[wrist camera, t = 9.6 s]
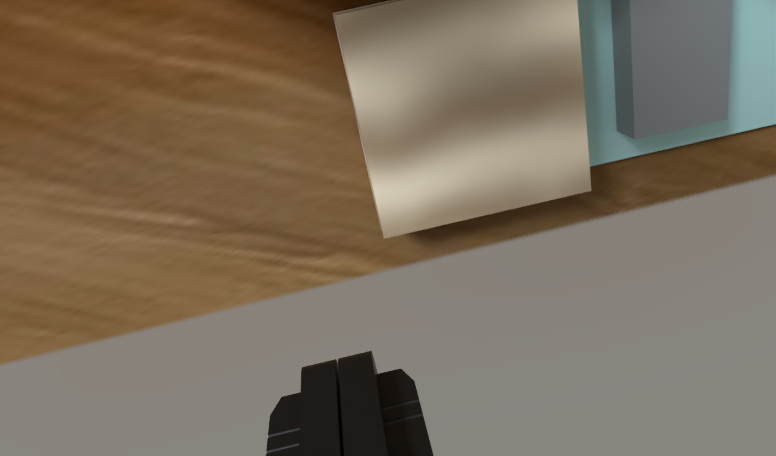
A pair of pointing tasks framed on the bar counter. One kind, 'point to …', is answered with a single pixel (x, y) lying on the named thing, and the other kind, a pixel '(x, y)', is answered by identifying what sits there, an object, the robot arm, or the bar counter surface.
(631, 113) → the grey rectangular block
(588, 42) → the mat
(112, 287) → the bar counter surface
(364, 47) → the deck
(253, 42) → the bar counter surface
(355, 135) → the bar counter surface
